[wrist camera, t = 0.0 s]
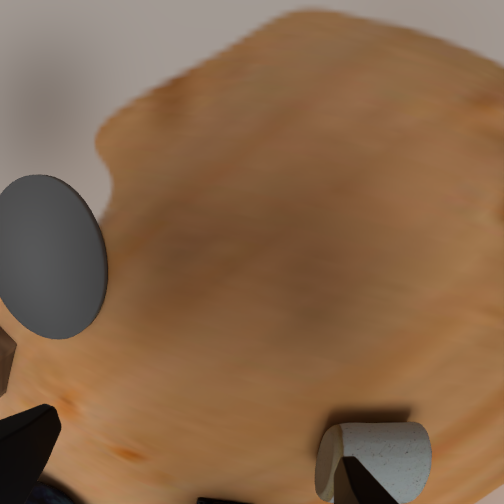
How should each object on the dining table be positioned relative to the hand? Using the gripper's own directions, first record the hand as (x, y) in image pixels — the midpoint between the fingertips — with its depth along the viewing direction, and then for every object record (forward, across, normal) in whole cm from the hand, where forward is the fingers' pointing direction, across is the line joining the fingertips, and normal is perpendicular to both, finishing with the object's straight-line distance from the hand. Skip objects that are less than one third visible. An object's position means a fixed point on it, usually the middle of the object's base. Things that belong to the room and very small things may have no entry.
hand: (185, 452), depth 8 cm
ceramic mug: (+15, -12, +14) cm, 24 cm away
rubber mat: (+15, +17, -1) cm, 22 cm away
